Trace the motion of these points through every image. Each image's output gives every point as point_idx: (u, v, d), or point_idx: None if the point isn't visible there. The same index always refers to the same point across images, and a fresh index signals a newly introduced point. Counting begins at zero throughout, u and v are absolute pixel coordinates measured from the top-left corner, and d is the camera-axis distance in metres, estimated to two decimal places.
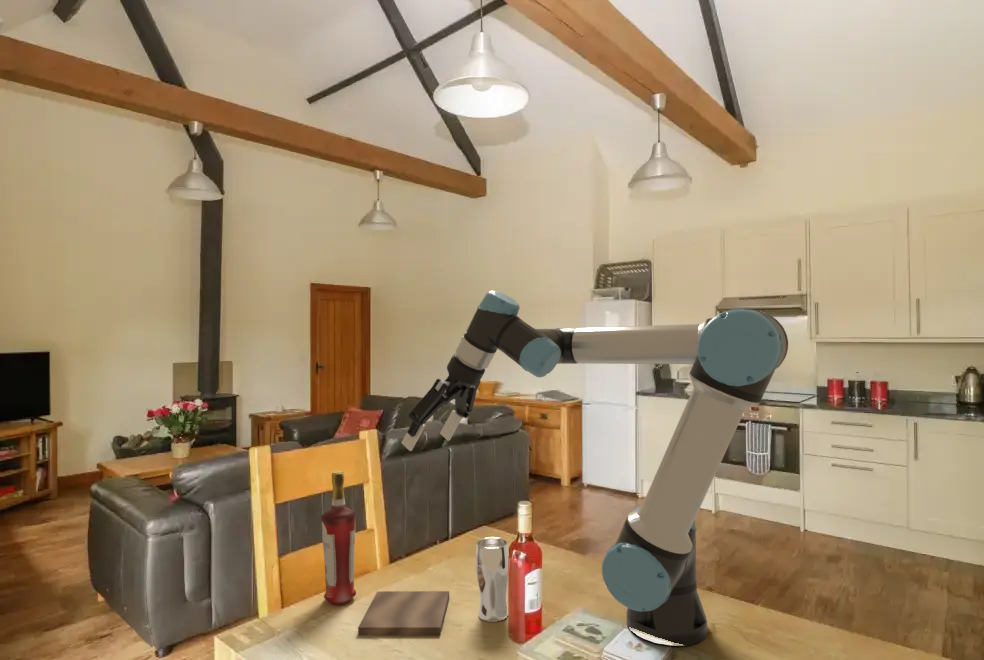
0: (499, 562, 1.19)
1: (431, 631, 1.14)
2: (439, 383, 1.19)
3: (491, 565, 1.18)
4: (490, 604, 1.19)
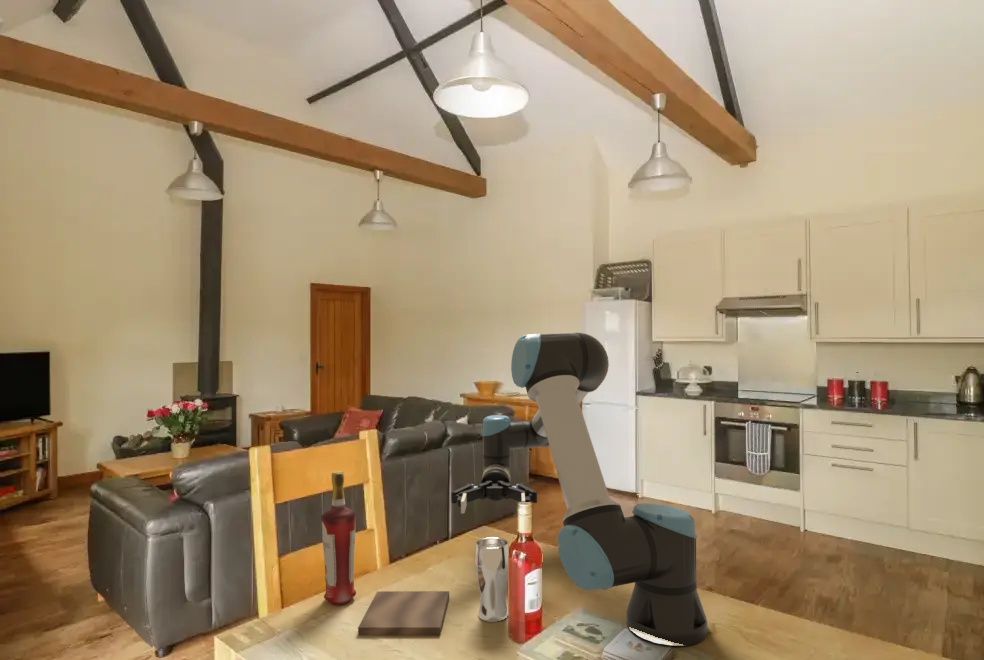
0: (499, 562, 1.19)
1: (431, 631, 1.14)
2: None
3: (491, 565, 1.18)
4: (490, 604, 1.19)
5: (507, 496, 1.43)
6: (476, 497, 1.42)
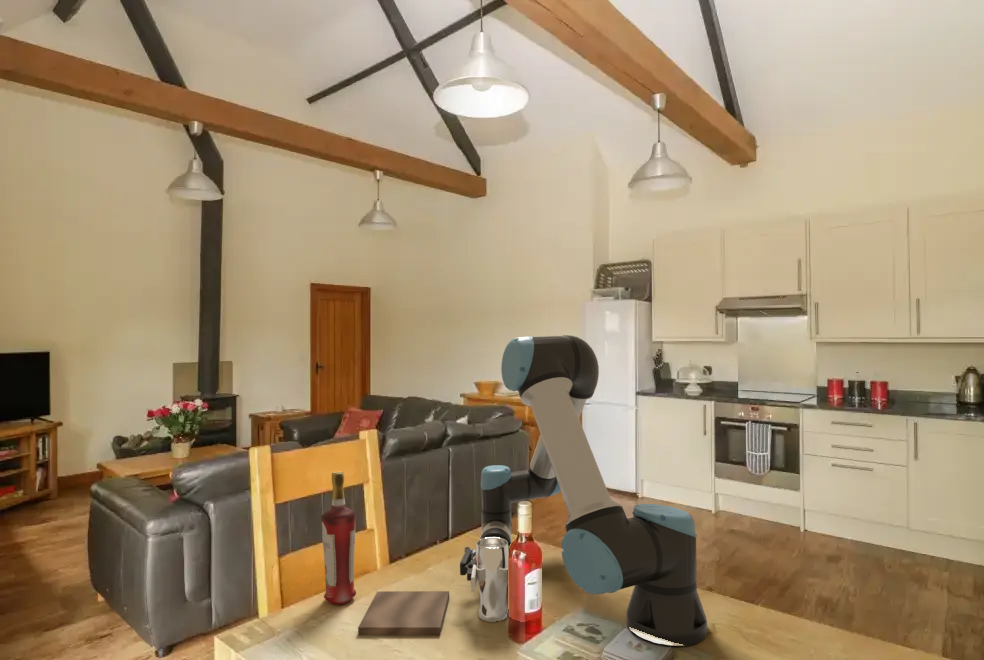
0: (499, 562, 1.19)
1: (431, 631, 1.14)
2: None
3: (491, 565, 1.18)
4: (490, 604, 1.19)
5: None
6: None
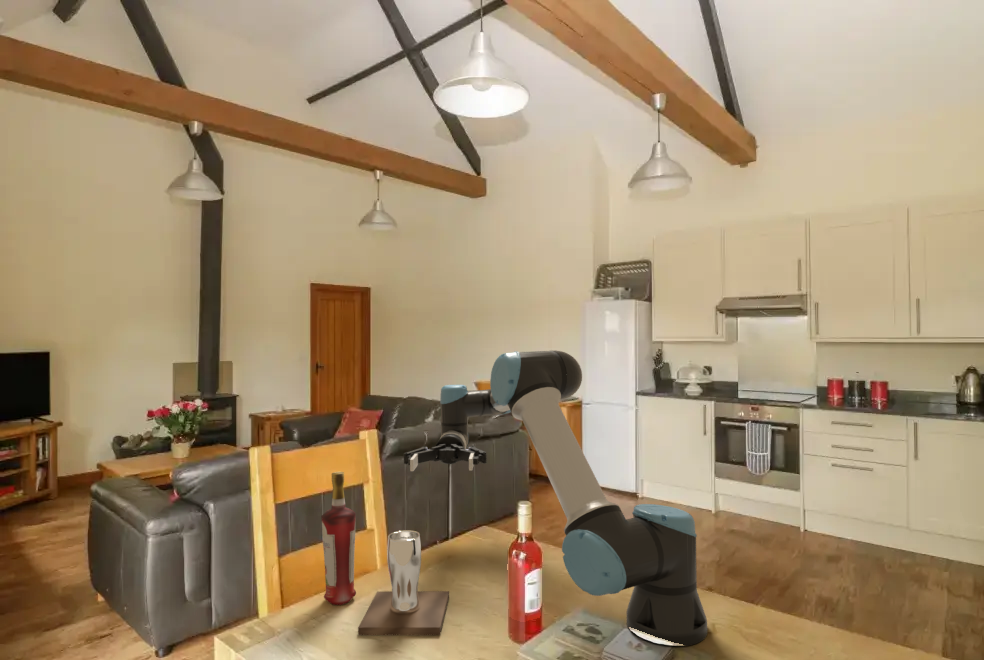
0: (409, 555, 1.20)
1: (431, 631, 1.14)
2: None
3: (400, 558, 1.19)
4: (400, 596, 1.20)
5: (459, 458, 1.48)
6: (428, 459, 1.47)
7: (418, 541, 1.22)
